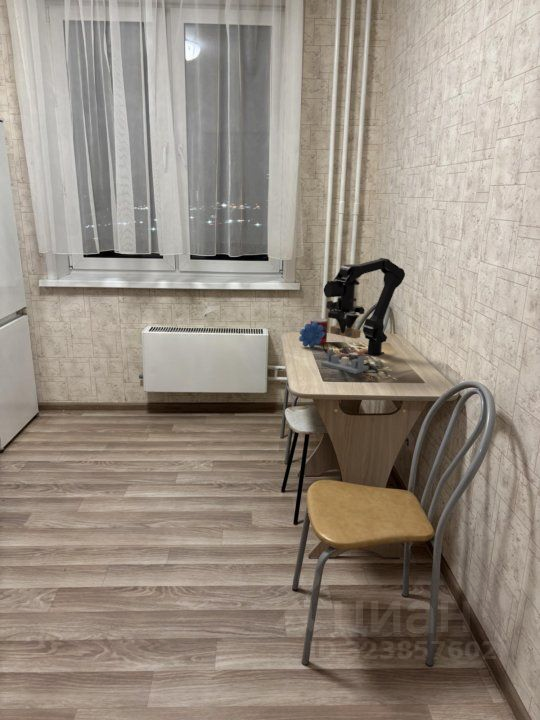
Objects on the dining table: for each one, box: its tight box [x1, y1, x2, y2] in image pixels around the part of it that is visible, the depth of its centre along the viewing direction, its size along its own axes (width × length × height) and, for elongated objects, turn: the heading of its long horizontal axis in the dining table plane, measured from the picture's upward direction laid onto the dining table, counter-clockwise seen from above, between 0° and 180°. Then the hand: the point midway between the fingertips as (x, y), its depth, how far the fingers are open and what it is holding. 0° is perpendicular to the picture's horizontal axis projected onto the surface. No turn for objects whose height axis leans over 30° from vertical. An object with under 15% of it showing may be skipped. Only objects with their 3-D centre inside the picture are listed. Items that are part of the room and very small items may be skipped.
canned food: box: [309, 317, 328, 345], centre depth 254 cm, size 8×8×11 cm
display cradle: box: [321, 348, 370, 375], centre depth 217 cm, size 9×17×6 cm, turn 48°
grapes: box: [298, 322, 325, 348], centre depth 245 cm, size 12×7×12 cm, turn 83°
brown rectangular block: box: [329, 324, 361, 339], centre depth 226 cm, size 13×4×3 cm, turn 47°
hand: (345, 332), depth 226 cm, fingers closed on brown rectangular block, 3 cm apart
